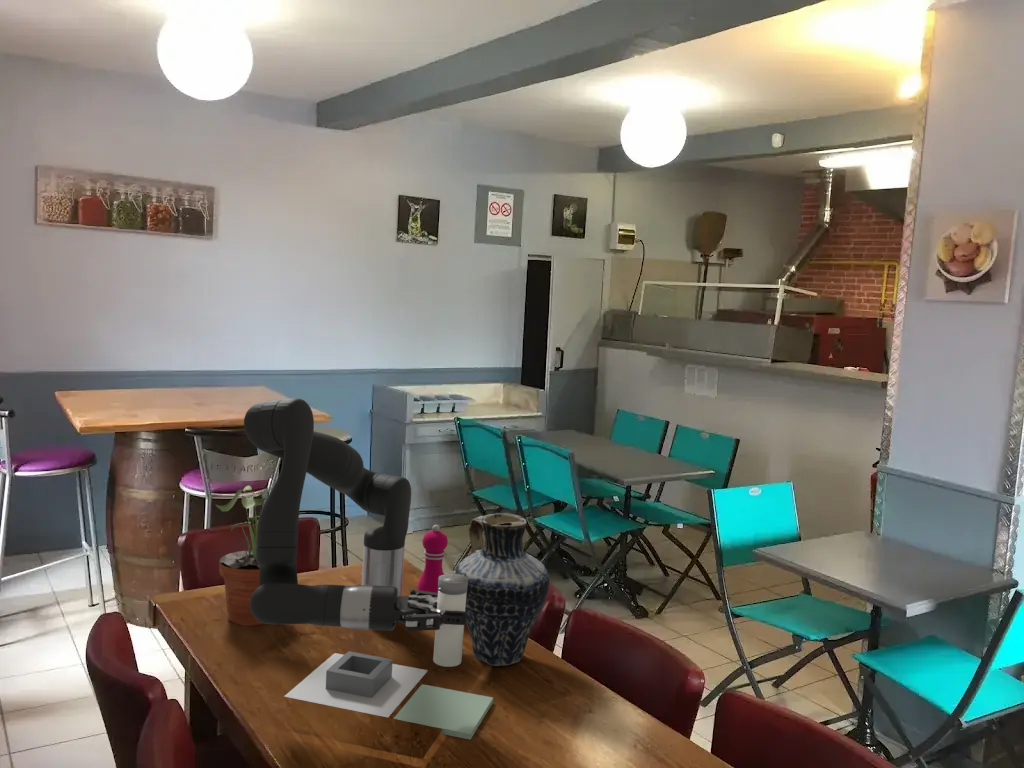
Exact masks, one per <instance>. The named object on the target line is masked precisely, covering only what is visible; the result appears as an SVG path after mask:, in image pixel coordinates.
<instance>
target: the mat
mask: <svg viewBox="0 0 1024 768" xmlns="http://www.w3.org/2000/svg"><path fill="white" fill-rule="evenodd" d="M493 703H494V697H492V696H486V695H481V694H476V693H471V692H465V691H460V690H455V689H450V688H445V687H440V686H434V685H428V684H423V683H421V684H420V686H419V687H418V688H417V690H415V692H414V693H413V694H412V696H411V697H410V698H409V699H408V700H407V702H406V703H405V704H404V705H403V706H402V708H401V709H400V710H399V711H398V712H397V713H396V715H395V716H394V717H393V720H399V721H402V722H408V723H411V724H412V723H414V724H418V725H421V726H427V727H432V728H438V729H441V731H440V732H439V734H440V735H446V736H450V737H454V738H455V737H456V738H460V739H466V740H471V739H472V738H473V737H474V735H475V733H476V732H477V730H478V728H479V726H480V725H481V724H482V721H483V720H484V718H485V716H486V715H487V713H488V711H489V710H490V708H491V707H492V705H493Z"/></svg>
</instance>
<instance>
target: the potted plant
mask: <svg viewBox="0 0 1024 768" xmlns="http://www.w3.org/2000/svg"><path fill="white" fill-rule="evenodd" d="M273 487H274V485H273V486H271V487H270V488H269V489H267V490H266V491H264V492H262V493H261V494H257V493H255V492H254V491H252V489H253V488H252V486H251V485H246V486H245V487H244V488H243V489H242V488H240V487H238V489H237V491H236V493H235V494H234V496H233V498H231V500H230V501H229V502H228V503H227V504H224V505H218V504H217V503H215V506H216V508H217V509H219V510H220V511H221V512H229V511H230V510H231V509H233V507H234V506H235V504H236V502H237V500H238V499H239V497H240V495H241V504H242V507H243V508H245V510H246V511H245V512H246V515H247V517H246V519H247V521H245V522H239V523H234V524H232V525H231V528H230V532H232V531H233V530H234V529H235V527H237V526H239V525H240V526H241V529H242V532H243V534H244V537H245V540H246V543H247V546H248V547H247V548H248V550H241V551H240V550H239V551H234V552H230V553H227V554H225V555H223V556H222V557H221V558H219V565H218V566H219V568H218V569H219V570H218V571H219V576H221V577H222V578H223V580H224V582H223V583H224V590H225V591H224V592H225V602H226V609H227V612H226V613H227V618H228V620H229V621H230V622H232V623H235V624H237V625H240V626H243V627H245V626H247V627H248V626H250V627H252V626H260V624H261V625H265V624H266V623H262V622H260V621H259V620H257V619H256V618H255V617H254V616H253V614H252V612H251V610H250V599H251V596H252V594H253V592H254V591H255V590H256V589H257V588H258V587H259V572H260V568H259V565H258V563H257V559H256V543H257V526H258V519H259V515H260V512H261V511H260V512H259V511H258V512H257V511H256V507H257V506H261V505H263V504H264V503H263V502H265V501H266V500H267V498H268V496H267V493H270V492H271V491H272V489H273ZM247 491H251V494H252V495H253V497H258V496H260V495H261V496H262V495H265V496H264V498H251V497H247V496H245V495H243V494H244V493H245V492H247ZM243 492H244V493H243ZM266 496H267V497H266ZM251 508H254V516H251V517H250V516H249V515H248V514H249V513H248V509H251ZM257 514H258V515H257ZM245 523H248V529H249V534H250V540H251V544H250V542H249V539H248V536H247V534H246V533H245V529H244V527H243V525H242V524H245ZM251 545H252V549H251Z"/></svg>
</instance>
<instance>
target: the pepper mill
mask: <svg viewBox="0 0 1024 768" xmlns="http://www.w3.org/2000/svg"><path fill="white" fill-rule="evenodd" d="M431 528H432V529H431V530H429V531H428V532H426V533H425V534H424V535H423V537H422V546H423V548H424V551H423V553H424V554H423V558H424V559H425V562H424V563H425V564H424V570H423V571H422V574H421V576H420V577H419V579H418V582H417V587H416V590H419V591H427V592H434V593H438V578H439V576H441V575H444V570H443V561H444V558H445V557H446V556H445V554H446V552H445V550H446V548H447V546H448V545H449V544H448V543H449V542H448V537H447V535H446V533H444V532H443V531H441V530H440V528H441V527H440V526H439V525H438V524H434V525H433V526H432V527H431ZM434 603H435V602H434Z"/></svg>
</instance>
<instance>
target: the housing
mask: <svg viewBox="0 0 1024 768" xmlns="http://www.w3.org/2000/svg"><path fill="white" fill-rule="evenodd" d="M393 660H394V659H393V658H388V657H383V656H377V655H372V654H365V653H361V652H354V651H350V650H348V651H347V652H346V653H345V654H343V653H336V652H334V653H333V654H332V655H331V656H330V657H328V658H327V659H326V660H324V662H323V663H321V664H320V665H318V667H317V668H315V669H314V670H313V671H312V672H311V673H310V674H309V675H307V676H306V677H305V678H304V679H302V681H300V682H299V683H298V684H297V685H295V686H294V687H293V688H292V689H290V691H289V692H287V694H285V695H284V696H283V697H284V698H287V699H288V698H289V699H292V700H293V699H294V700H299V701H303V702H304V701H305V702H308V703H314V704H319V705H323V706H328V707H333V708H337V709H342V710H343V709H344V710H348V711H353V712H359V713H362V714H369V715H372V716H379V717H385V718H390V716H391V715H392V713H394V712H395V710H396V709H398V707H399V706H400V704H401V703H402V702H403V701H404V699H405V698H406V697H407V696H408V695H409V694H410V692H411V691H412V690H413V689H414V688H415V687H416V685H418V683H419V682H420V681H421V679H422V678H423V677H424V676H425V675H426V673H428V671H429V670H428V669H423V668H417V667H413V666H409V665H408V666H407V665H401V664H397V663H393Z"/></svg>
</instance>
